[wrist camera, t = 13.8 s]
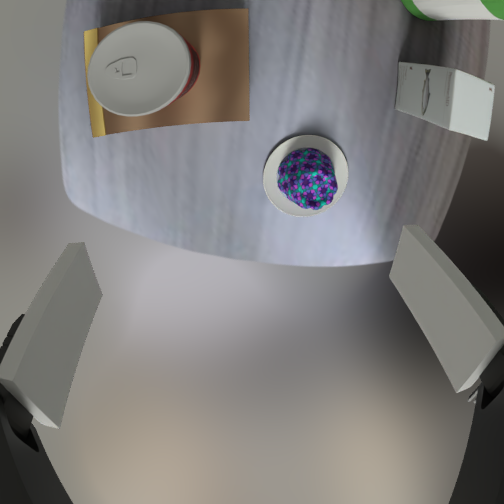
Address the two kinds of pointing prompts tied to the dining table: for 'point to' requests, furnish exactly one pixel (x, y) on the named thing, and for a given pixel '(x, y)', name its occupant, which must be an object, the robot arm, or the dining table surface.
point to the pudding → (305, 176)
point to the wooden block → (209, 80)
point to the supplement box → (446, 98)
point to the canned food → (142, 68)
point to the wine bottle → (455, 9)
